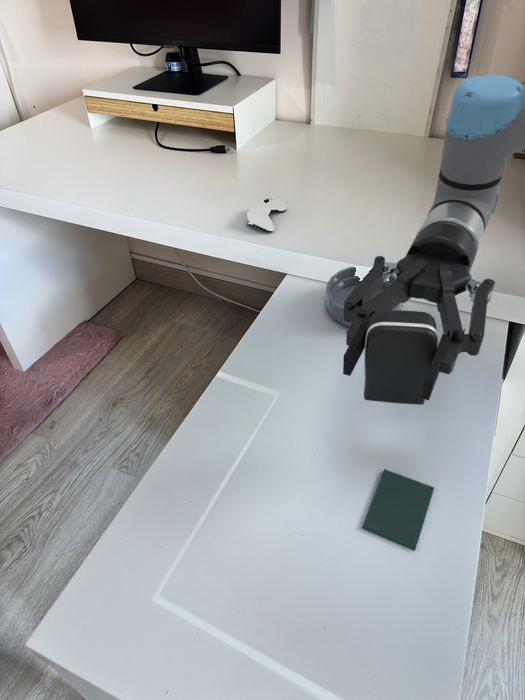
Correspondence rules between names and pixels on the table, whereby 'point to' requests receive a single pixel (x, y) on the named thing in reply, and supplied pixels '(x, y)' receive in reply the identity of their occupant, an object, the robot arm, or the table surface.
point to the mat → (398, 509)
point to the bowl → (347, 292)
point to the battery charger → (398, 355)
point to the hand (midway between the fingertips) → (385, 377)
